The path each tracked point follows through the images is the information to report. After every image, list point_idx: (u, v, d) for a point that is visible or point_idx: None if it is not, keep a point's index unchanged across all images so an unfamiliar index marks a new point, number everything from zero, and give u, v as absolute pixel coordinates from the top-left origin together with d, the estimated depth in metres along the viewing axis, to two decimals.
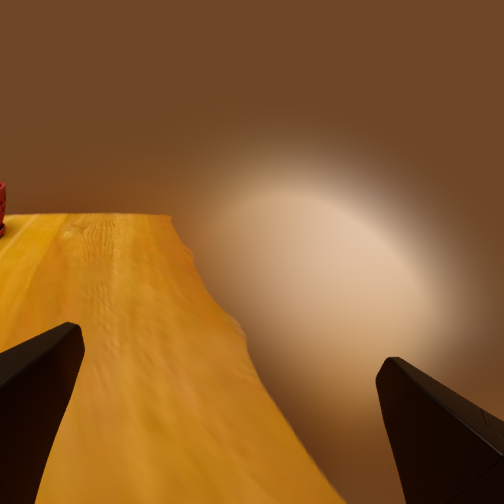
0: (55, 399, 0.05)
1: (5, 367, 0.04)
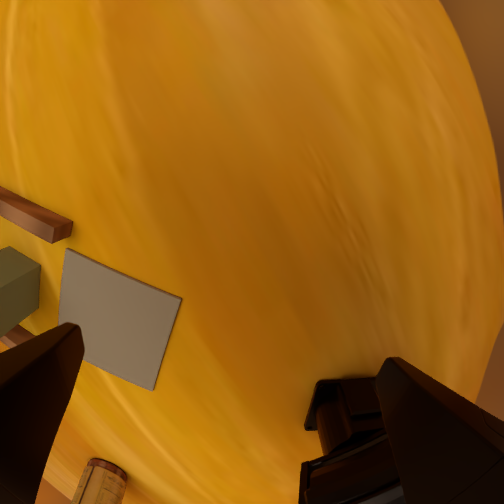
0: (55, 399, 0.05)
1: (5, 368, 0.04)
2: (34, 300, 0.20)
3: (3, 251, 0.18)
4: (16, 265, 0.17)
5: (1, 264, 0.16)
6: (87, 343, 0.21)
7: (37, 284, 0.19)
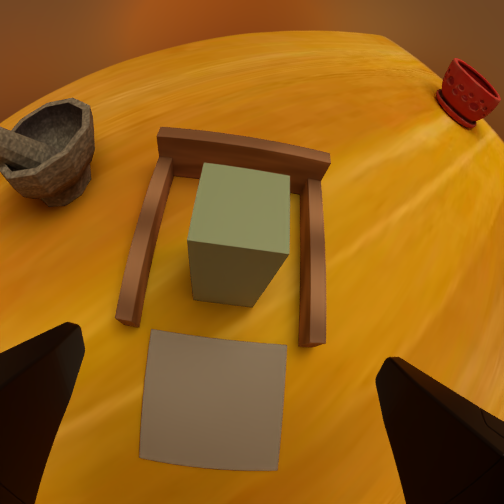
0: (55, 399, 0.05)
1: (5, 367, 0.04)
2: (209, 299, 0.21)
3: None
4: None
5: None
6: (176, 378, 0.18)
7: (229, 303, 0.21)
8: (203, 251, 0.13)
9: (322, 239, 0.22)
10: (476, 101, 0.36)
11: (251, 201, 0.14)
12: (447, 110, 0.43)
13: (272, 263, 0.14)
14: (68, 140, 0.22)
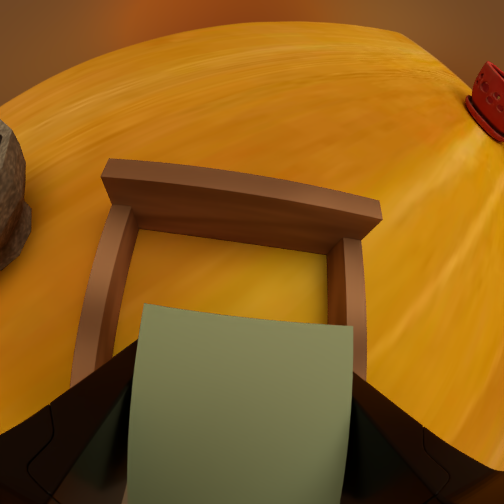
0: None
1: (87, 399, 0.04)
2: None
3: None
4: None
5: None
6: None
7: None
8: None
9: (363, 342, 0.14)
10: None
11: (265, 418, 0.05)
12: (479, 120, 0.34)
13: None
14: None
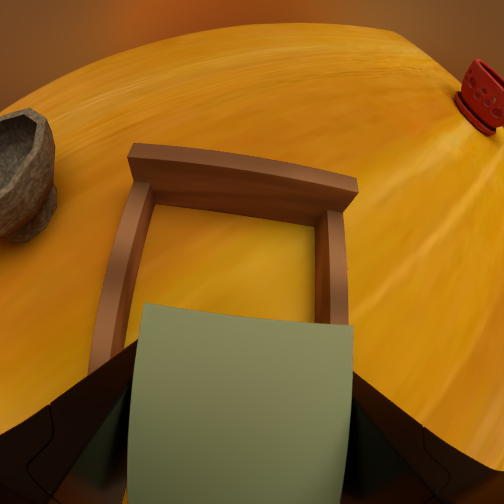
0: None
1: (88, 399, 0.04)
2: None
3: None
4: None
5: None
6: None
7: None
8: None
9: (345, 295, 0.17)
10: (499, 107, 0.30)
11: (265, 418, 0.05)
12: (467, 115, 0.37)
13: None
14: None
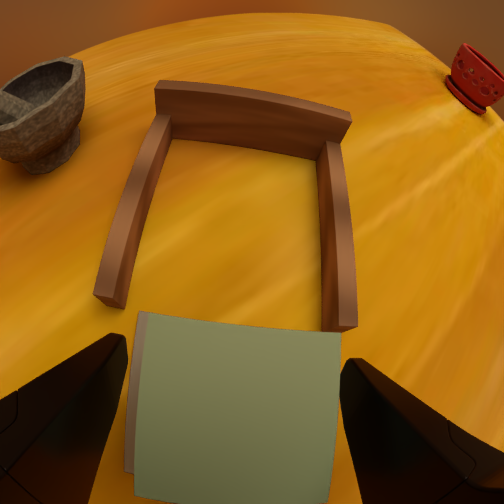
0: (104, 415, 0.05)
1: (53, 388, 0.04)
2: None
3: None
4: None
5: None
6: None
7: None
8: None
9: (347, 204, 0.18)
10: (487, 85, 0.32)
11: (259, 417, 0.05)
12: (457, 95, 0.39)
13: None
14: None
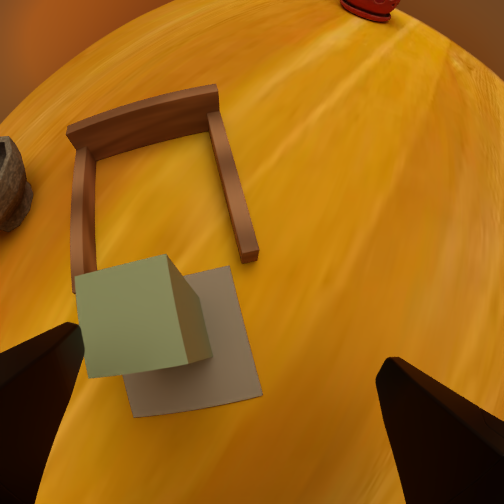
0: (55, 399, 0.05)
1: (5, 367, 0.04)
2: None
3: (197, 299, 0.20)
4: (205, 336, 0.18)
5: (199, 319, 0.17)
6: None
7: None
8: None
9: (231, 158, 0.22)
10: None
11: (131, 311, 0.11)
12: (355, 12, 0.39)
13: None
14: None
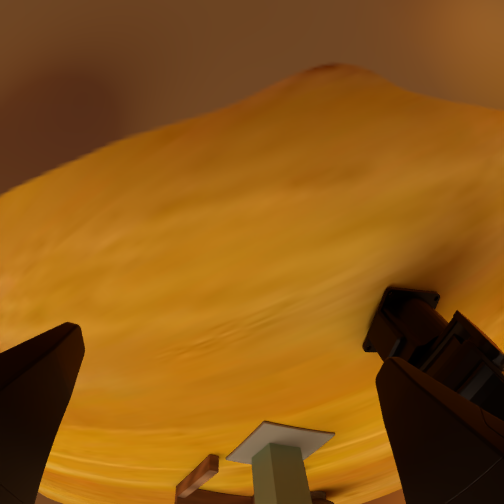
0: (55, 399, 0.05)
1: (5, 368, 0.04)
2: (293, 450, 0.28)
3: (253, 464, 0.28)
4: (264, 460, 0.27)
5: (261, 470, 0.26)
6: None
7: (282, 446, 0.28)
8: None
9: (189, 487, 0.29)
10: None
11: None
12: None
13: None
14: None
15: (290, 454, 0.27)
